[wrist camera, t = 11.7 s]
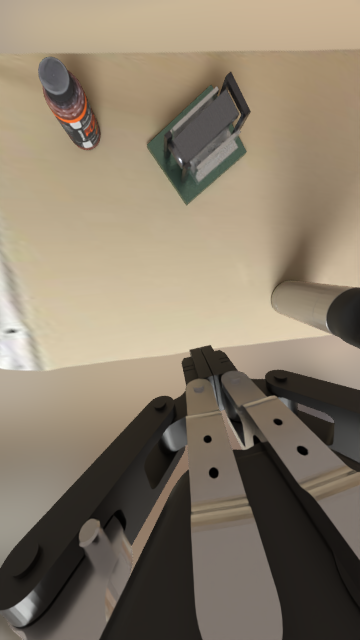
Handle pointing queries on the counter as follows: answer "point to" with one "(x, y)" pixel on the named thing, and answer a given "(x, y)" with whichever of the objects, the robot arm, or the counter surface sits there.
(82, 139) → the supplement bottle
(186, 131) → the retention strap
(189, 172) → the heatsink
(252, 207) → the counter surface
